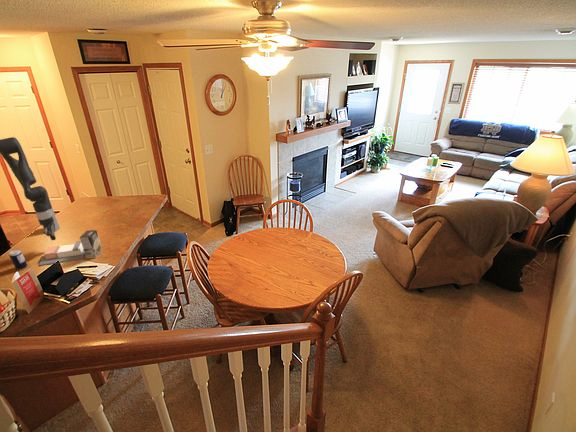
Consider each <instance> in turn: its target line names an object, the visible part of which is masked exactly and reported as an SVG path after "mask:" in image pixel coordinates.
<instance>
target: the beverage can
mask: <svg viewBox="0 0 576 432" xmlns="http://www.w3.org/2000/svg"><path fill="white" fill-rule="evenodd" d="M8 254H9V255H8V256H9V258H10V260H11V261H12V264H13V266H14V268H15V270H19V271H21V270H25V269H26V268H27V267H28V263H27V261H26V259H25V256H24V255H23V254H24V253H22V251H21V250H20V249H13V250H10V252H9V253H8Z"/></svg>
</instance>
